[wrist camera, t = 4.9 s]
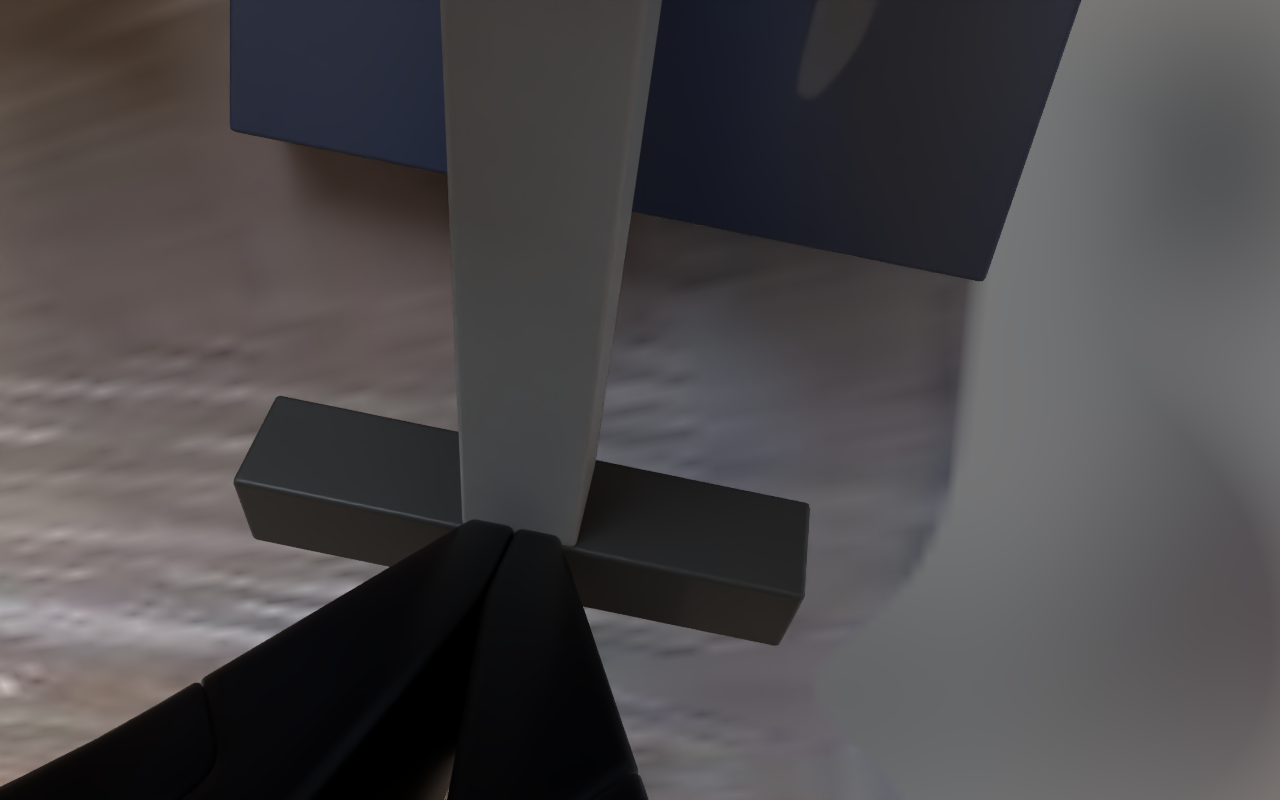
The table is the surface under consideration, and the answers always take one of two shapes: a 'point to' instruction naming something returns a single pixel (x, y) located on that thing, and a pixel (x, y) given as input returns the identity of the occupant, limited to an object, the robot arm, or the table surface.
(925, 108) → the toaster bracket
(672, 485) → the lever
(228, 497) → the table surface
